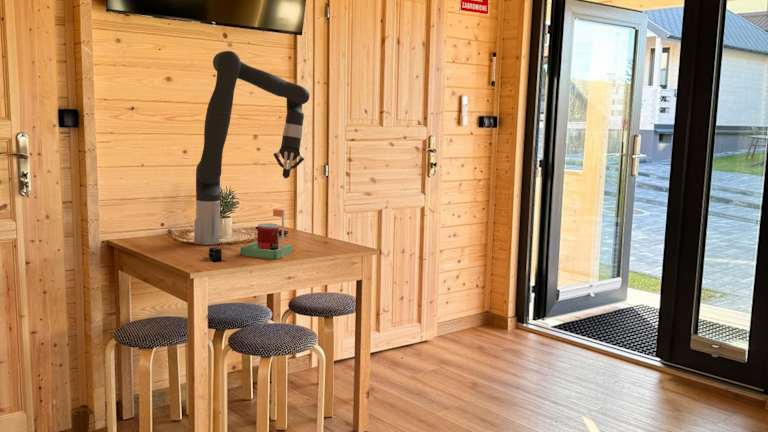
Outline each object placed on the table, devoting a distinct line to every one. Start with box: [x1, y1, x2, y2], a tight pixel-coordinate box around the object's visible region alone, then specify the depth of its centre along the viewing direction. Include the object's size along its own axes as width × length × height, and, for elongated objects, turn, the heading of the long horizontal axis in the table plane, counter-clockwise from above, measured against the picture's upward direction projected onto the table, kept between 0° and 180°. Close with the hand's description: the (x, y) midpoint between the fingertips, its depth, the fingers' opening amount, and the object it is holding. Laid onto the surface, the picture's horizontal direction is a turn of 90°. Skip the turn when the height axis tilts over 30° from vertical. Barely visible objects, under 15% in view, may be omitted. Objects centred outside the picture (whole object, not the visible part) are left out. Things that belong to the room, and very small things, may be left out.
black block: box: [202, 246, 228, 264], centre depth 255 cm, size 12×7×5 cm, turn 39°
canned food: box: [257, 222, 280, 250], centre depth 269 cm, size 8×8×11 cm
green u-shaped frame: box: [240, 208, 293, 260], centre depth 268 cm, size 16×14×18 cm
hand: (285, 178), depth 291 cm, fingers closed
